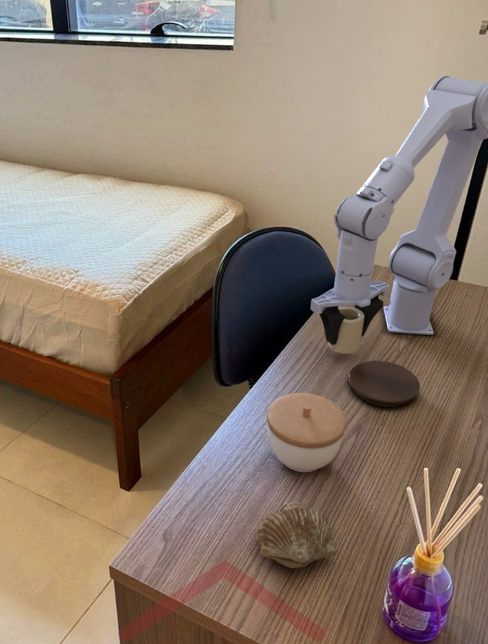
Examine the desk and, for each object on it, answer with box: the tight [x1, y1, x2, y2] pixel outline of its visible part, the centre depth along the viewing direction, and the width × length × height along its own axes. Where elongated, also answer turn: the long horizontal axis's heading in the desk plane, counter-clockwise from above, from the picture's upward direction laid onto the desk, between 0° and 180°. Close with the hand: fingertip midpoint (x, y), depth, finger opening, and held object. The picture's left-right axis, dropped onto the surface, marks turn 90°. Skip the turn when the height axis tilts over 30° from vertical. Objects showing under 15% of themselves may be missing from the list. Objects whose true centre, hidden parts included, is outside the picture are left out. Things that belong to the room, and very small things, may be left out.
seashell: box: [253, 501, 338, 569], centre depth 71 cm, size 9×7×8 cm
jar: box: [327, 306, 364, 355], centre depth 105 cm, size 5×5×6 cm
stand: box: [348, 360, 421, 408], centre depth 99 cm, size 11×11×2 cm
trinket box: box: [266, 392, 347, 473], centre depth 84 cm, size 11×11×9 cm
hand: (344, 337), depth 106 cm, fingers closed on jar, 5 cm apart
